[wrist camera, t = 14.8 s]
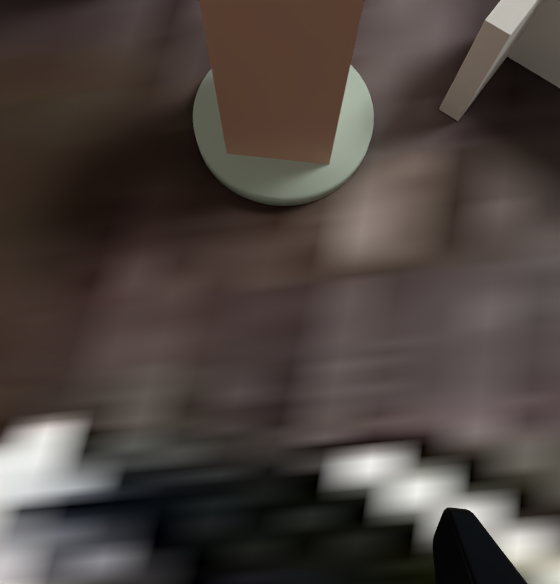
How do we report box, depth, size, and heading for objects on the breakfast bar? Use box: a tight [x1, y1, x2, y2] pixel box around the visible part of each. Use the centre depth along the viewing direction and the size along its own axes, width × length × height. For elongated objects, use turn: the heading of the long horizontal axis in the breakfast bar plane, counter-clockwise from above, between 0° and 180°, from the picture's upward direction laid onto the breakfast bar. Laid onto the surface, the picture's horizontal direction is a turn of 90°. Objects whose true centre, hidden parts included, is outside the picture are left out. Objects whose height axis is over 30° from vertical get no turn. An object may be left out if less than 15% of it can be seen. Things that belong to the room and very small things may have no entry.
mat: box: [193, 65, 374, 206], centre depth 25 cm, size 9×9×1 cm
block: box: [199, 0, 364, 164], centre depth 20 cm, size 5×5×10 cm
